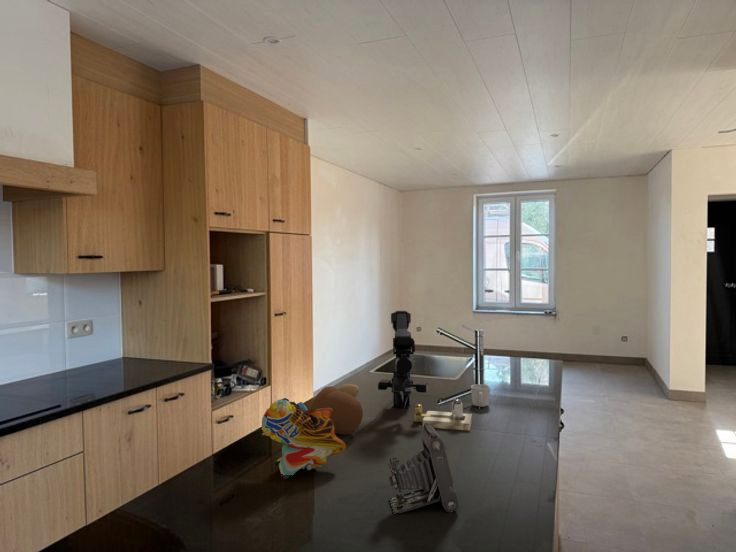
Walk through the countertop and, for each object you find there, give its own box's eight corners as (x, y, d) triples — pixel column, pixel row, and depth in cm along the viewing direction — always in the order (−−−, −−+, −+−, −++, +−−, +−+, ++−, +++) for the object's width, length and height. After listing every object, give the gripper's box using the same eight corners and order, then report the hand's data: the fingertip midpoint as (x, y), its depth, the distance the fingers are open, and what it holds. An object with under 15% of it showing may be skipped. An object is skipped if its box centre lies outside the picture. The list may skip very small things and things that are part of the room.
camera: (391, 511, 132) (371, 438, 131) (453, 491, 133) (434, 419, 132) (398, 534, 121) (376, 454, 120) (465, 512, 123) (444, 434, 121)
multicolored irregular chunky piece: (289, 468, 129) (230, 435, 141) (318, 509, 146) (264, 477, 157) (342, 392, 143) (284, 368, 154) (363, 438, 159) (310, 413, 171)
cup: (490, 410, 207) (490, 391, 207) (470, 409, 209) (470, 390, 208) (489, 403, 218) (489, 384, 217) (470, 402, 219) (470, 383, 219)
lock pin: (414, 421, 193) (414, 405, 193) (415, 419, 196) (415, 403, 195) (430, 422, 191) (429, 406, 191) (431, 420, 194) (431, 404, 194)
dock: (422, 426, 187) (422, 420, 187) (427, 417, 199) (427, 410, 199) (469, 430, 183) (469, 423, 183) (472, 420, 194) (472, 413, 194)
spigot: (451, 425, 189) (451, 400, 188) (452, 422, 192) (452, 398, 192) (462, 426, 188) (462, 401, 187) (463, 423, 191) (463, 398, 191)
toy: (304, 441, 186) (347, 461, 175) (287, 416, 176) (332, 436, 165) (339, 391, 199) (381, 407, 188) (325, 365, 189) (369, 380, 178)
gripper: (373, 370, 190) (374, 412, 190) (423, 373, 185) (423, 416, 185) (381, 364, 200) (381, 404, 201) (428, 367, 195) (428, 407, 196)
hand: (403, 408), depth 195 cm, fingers closed
